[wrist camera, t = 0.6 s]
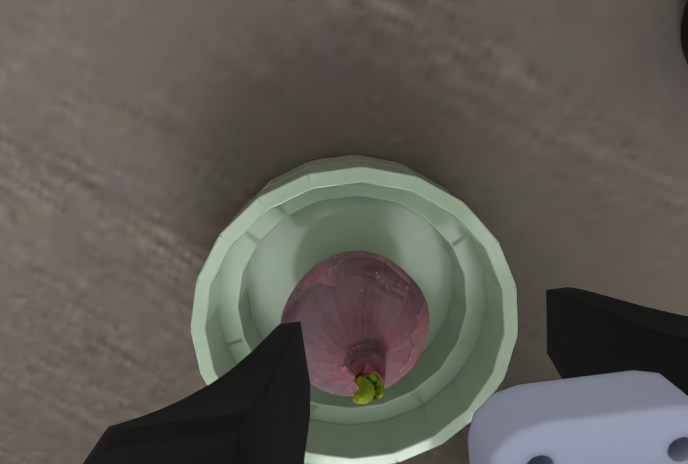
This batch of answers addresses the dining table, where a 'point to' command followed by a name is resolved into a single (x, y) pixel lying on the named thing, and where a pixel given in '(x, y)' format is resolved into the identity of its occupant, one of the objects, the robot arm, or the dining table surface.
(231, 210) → the dining table surface
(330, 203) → the bowl
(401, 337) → the vegetable
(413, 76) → the dining table surface
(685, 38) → the coffee mug
